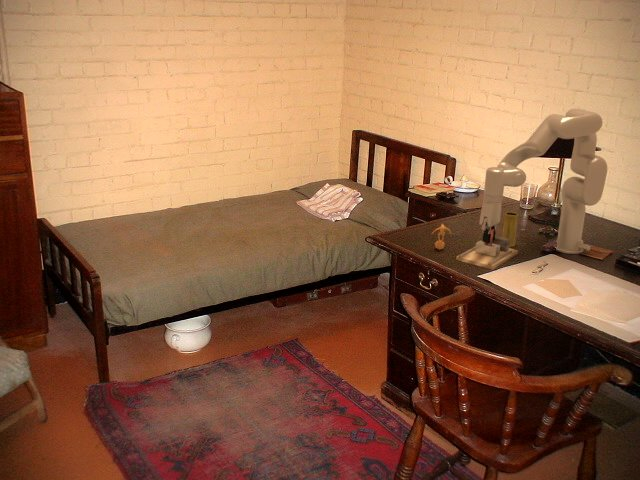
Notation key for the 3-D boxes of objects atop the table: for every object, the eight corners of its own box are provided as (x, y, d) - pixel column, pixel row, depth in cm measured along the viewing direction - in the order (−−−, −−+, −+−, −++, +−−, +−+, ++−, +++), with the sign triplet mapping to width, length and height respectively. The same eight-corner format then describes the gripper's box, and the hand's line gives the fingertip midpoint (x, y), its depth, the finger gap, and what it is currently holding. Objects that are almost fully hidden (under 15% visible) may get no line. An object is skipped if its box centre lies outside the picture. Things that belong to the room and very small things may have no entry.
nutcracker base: (517, 253, 277) (519, 239, 275) (492, 269, 259) (494, 254, 257) (482, 245, 287) (484, 231, 284) (456, 260, 269) (457, 245, 267)
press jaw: (499, 254, 271) (502, 230, 267) (495, 256, 268) (497, 232, 264) (479, 249, 276) (481, 225, 273) (475, 251, 273) (477, 227, 270)
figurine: (447, 247, 283) (450, 221, 279) (451, 252, 277) (453, 225, 273) (428, 247, 283) (430, 221, 279) (431, 252, 277) (433, 225, 273)
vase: (515, 247, 284) (519, 216, 279) (501, 246, 285) (504, 215, 281) (514, 243, 290) (518, 212, 285) (500, 241, 291) (503, 211, 286)
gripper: (493, 192, 272) (489, 234, 279) (475, 200, 260) (470, 244, 266) (510, 195, 268) (505, 238, 274) (492, 204, 256) (487, 248, 262)
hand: (488, 240), depth 270 cm, fingers open, 3 cm apart
